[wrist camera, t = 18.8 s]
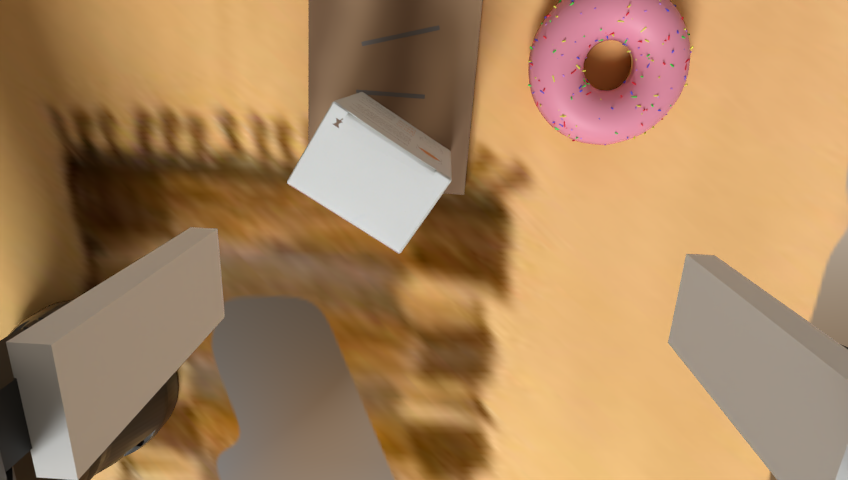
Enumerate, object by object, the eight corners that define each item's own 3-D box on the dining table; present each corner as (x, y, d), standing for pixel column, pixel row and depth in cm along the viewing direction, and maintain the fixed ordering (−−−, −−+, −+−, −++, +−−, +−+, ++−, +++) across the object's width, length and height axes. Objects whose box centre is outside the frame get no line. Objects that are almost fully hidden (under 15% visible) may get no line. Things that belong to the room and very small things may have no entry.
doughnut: (668, 140, 40) (691, 148, 36) (521, 142, 41) (528, 150, 37) (687, -19, 37) (715, -30, 33) (527, -14, 38) (535, -24, 34)
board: (313, 178, 42) (308, 182, 41) (314, -112, 36) (308, -119, 35) (463, 190, 42) (464, 194, 41) (491, -100, 36) (492, -107, 34)
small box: (323, 153, 40) (280, 182, 30) (362, 89, 39) (330, 97, 29) (412, 211, 41) (399, 258, 31) (453, 151, 40) (453, 180, 30)
